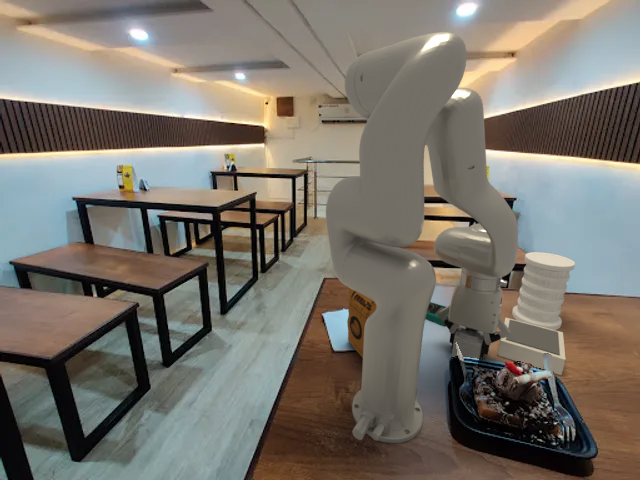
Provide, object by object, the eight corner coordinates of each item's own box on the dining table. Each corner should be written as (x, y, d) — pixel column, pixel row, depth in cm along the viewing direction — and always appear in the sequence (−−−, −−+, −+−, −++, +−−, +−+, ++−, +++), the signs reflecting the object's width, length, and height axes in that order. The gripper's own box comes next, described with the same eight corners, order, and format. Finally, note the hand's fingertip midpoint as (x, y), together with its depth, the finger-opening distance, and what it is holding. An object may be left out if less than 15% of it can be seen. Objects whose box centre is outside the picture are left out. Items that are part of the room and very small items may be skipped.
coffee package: (363, 372, 68) (368, 279, 62) (342, 340, 79) (344, 258, 73) (404, 363, 71) (412, 273, 64) (378, 333, 82) (383, 253, 76)
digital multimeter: (405, 301, 100) (406, 293, 99) (454, 317, 91) (455, 307, 90) (395, 310, 94) (396, 301, 93) (446, 328, 85) (447, 318, 84)
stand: (561, 375, 67) (565, 358, 66) (497, 355, 74) (500, 339, 72) (559, 346, 77) (563, 331, 75) (502, 330, 83) (505, 316, 82)
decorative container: (571, 326, 85) (588, 264, 80) (538, 333, 82) (553, 269, 77) (533, 306, 96) (545, 249, 90) (502, 311, 93) (513, 253, 87)
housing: (477, 367, 70) (482, 339, 68) (451, 357, 73) (455, 331, 71) (482, 348, 76) (487, 322, 74) (458, 340, 79) (462, 316, 77)
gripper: (526, 283, 67) (511, 355, 73) (442, 266, 76) (434, 331, 82) (524, 297, 61) (508, 374, 67) (434, 277, 71) (426, 346, 76)
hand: (467, 350), depth 74 cm, fingers closed on housing, 5 cm apart
